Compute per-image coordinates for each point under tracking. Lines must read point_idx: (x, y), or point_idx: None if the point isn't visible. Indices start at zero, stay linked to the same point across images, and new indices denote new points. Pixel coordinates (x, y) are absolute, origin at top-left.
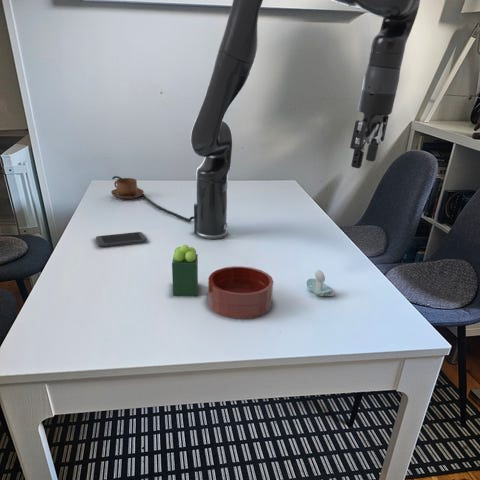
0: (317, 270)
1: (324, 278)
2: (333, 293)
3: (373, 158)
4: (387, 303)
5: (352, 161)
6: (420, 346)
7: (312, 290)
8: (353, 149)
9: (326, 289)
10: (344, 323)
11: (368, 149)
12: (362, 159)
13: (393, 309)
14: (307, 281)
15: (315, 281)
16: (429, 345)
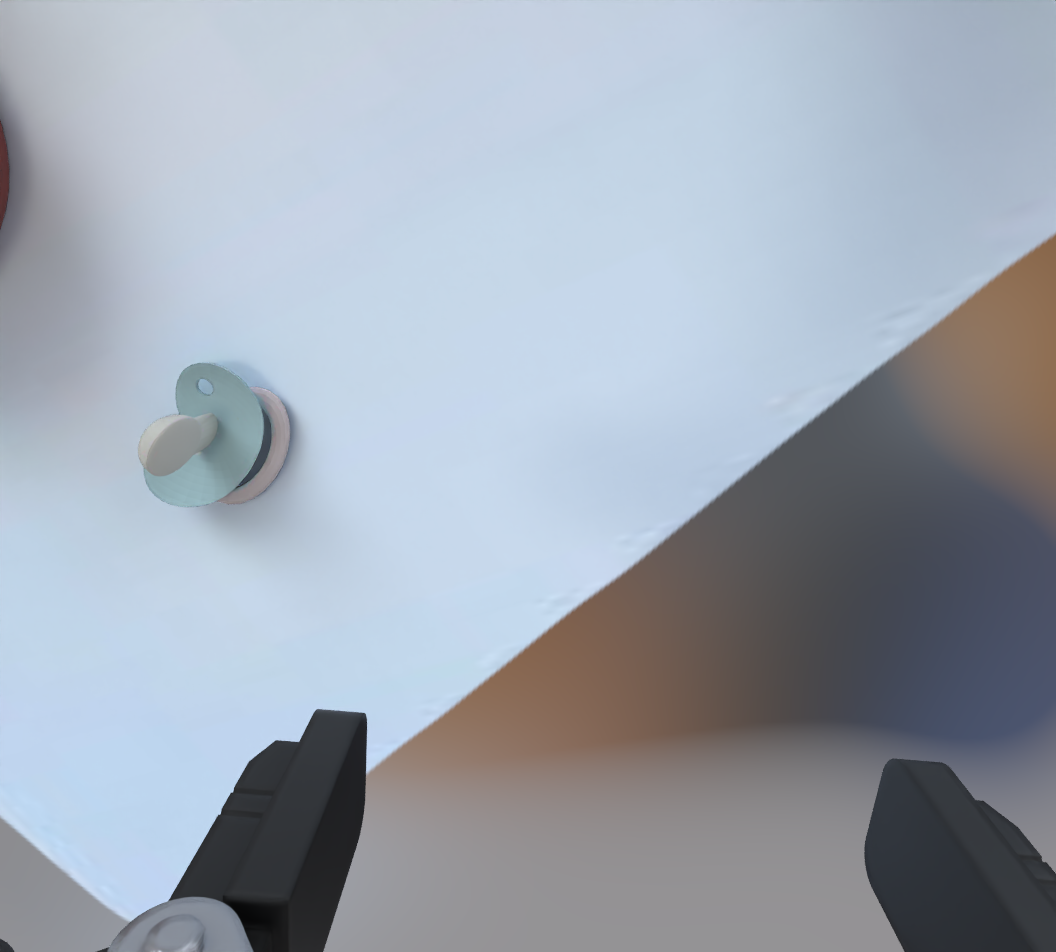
0: (154, 430)
1: (159, 475)
2: (228, 501)
3: (887, 886)
4: (332, 707)
5: (298, 753)
6: (94, 878)
7: (180, 409)
8: (156, 915)
9: (225, 465)
10: (46, 621)
11: (975, 891)
12: (325, 928)
13: (296, 740)
14: (200, 365)
15: (241, 395)
16: (123, 899)
